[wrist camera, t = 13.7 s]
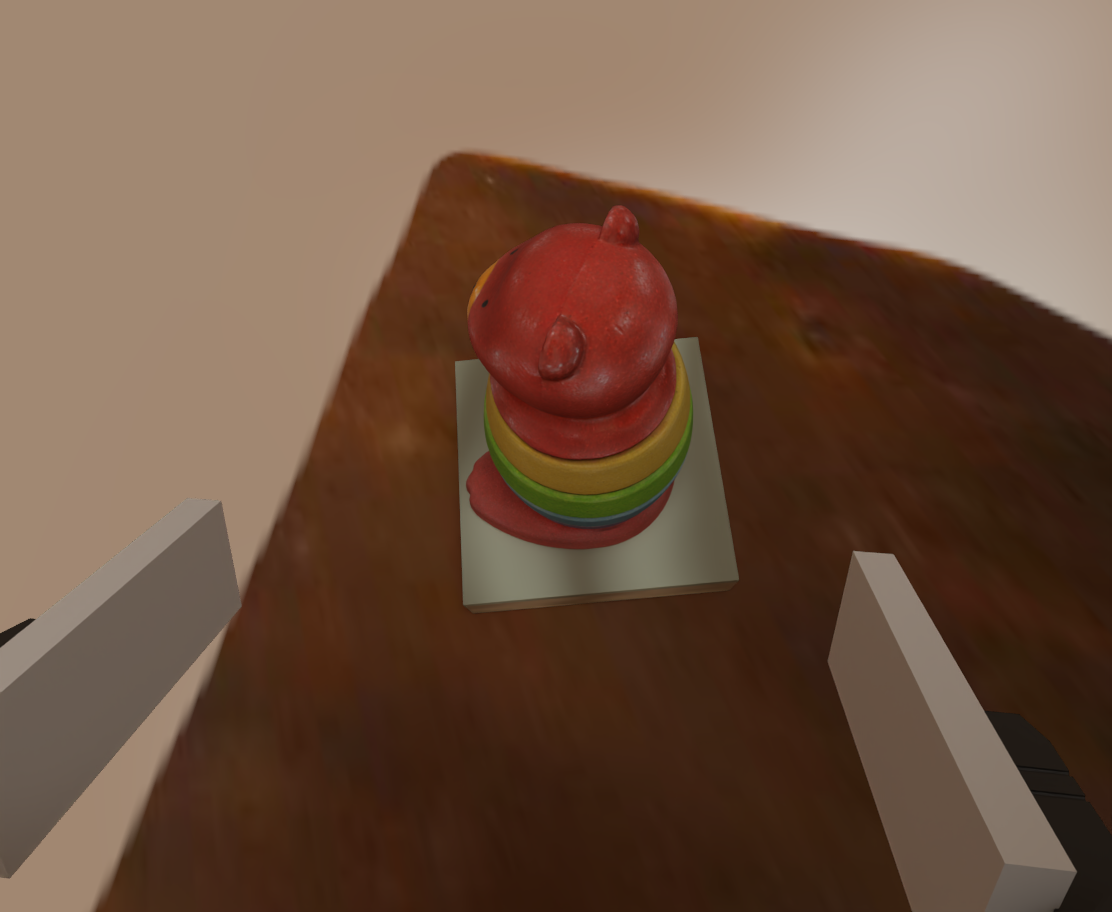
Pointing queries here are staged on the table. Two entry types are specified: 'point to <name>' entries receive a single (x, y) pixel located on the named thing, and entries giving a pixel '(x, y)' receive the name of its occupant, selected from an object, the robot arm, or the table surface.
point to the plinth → (607, 572)
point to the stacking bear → (578, 387)
